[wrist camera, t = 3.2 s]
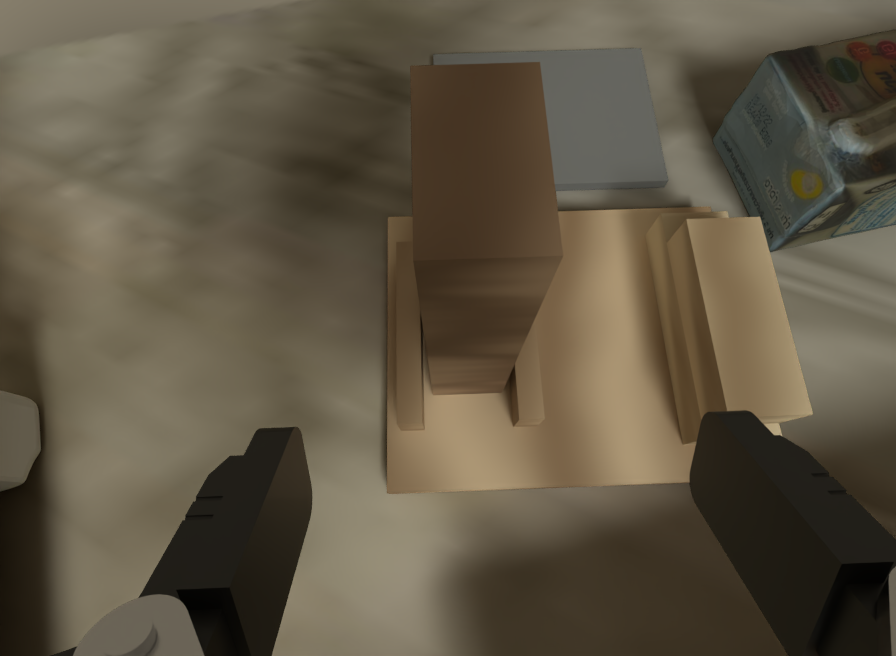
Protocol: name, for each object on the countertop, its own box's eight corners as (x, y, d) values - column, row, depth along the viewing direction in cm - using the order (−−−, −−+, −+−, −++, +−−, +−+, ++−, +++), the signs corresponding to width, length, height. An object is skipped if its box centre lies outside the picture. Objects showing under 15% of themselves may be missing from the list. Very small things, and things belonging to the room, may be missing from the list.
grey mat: (637, 56, 30) (640, 48, 30) (663, 187, 27) (668, 180, 27) (433, 62, 30) (433, 54, 30) (437, 194, 27) (437, 187, 27)
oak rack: (699, 219, 27) (755, 154, 22) (757, 480, 22) (843, 472, 18) (390, 229, 27) (377, 166, 22) (390, 493, 22) (373, 489, 17)
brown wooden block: (494, 287, 24) (540, 61, 12) (501, 392, 23) (563, 255, 10) (430, 290, 24) (410, 65, 12) (433, 395, 23) (413, 261, 10)
